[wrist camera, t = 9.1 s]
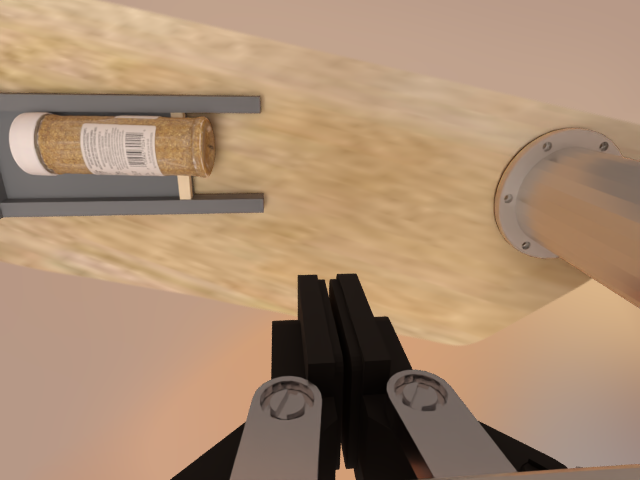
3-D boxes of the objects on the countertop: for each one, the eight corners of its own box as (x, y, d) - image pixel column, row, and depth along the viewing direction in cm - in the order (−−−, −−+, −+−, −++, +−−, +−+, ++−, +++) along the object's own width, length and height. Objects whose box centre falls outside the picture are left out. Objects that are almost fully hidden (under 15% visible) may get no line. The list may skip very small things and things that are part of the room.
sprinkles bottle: (211, 107, 32) (31, 102, 32) (198, 132, 28) (-5, 127, 28) (218, 161, 35) (53, 157, 34) (207, 190, 31) (23, 186, 31)
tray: (260, 96, 34) (259, 97, 32) (263, 206, 38) (263, 216, 35) (-33, 92, 32) (-59, 94, 29) (0, 210, 35) (-21, 221, 33)
